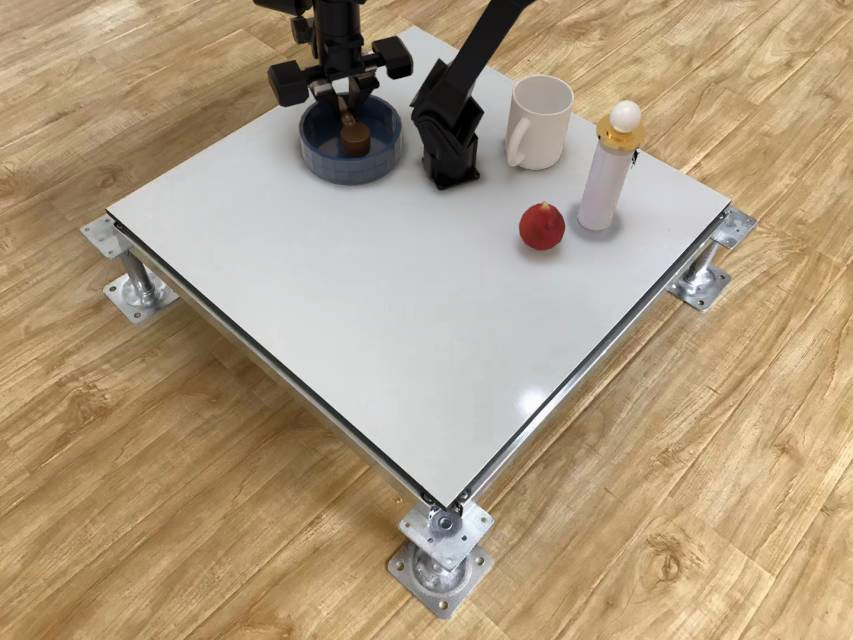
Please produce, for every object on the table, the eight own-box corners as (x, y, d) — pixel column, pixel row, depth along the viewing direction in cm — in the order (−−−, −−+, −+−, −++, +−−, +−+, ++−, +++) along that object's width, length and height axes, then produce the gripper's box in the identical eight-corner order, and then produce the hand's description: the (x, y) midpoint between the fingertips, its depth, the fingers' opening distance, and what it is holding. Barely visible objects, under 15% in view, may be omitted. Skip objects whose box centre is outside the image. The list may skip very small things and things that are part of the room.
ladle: (374, 153, 107) (374, 135, 104) (347, 161, 106) (346, 142, 103) (350, 109, 112) (349, 90, 109) (324, 116, 111) (322, 97, 108)
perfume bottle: (595, 244, 101) (632, 128, 85) (563, 219, 104) (593, 101, 87) (623, 223, 104) (665, 106, 87) (591, 199, 106) (626, 80, 89)
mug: (529, 196, 106) (540, 139, 98) (479, 170, 109) (485, 113, 100) (571, 147, 112) (585, 90, 103) (522, 124, 114) (532, 66, 106)
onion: (564, 236, 102) (575, 194, 96) (554, 268, 99) (564, 227, 92) (522, 224, 103) (530, 182, 96) (510, 255, 100) (518, 214, 93)
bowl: (380, 106, 116) (379, 82, 112) (416, 169, 108) (417, 145, 105) (289, 130, 112) (285, 105, 108) (321, 196, 105) (318, 172, 101)
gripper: (383, -28, 102) (385, 70, 115) (246, 2, 98) (264, 100, 110) (416, 20, 96) (414, 117, 109) (272, 54, 92) (288, 151, 105)
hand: (345, 119), depth 109 cm, fingers closed on ladle, 2 cm apart
